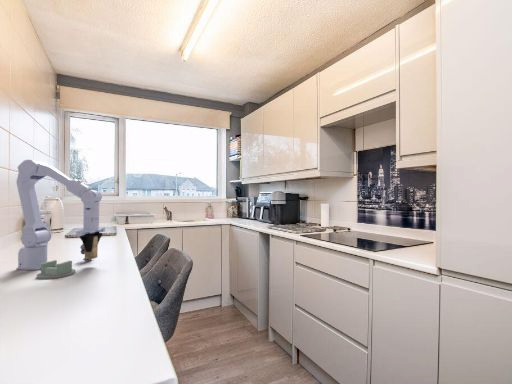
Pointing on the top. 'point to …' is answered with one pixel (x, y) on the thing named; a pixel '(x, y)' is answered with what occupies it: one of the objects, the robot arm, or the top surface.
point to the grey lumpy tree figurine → (84, 252)
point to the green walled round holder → (55, 270)
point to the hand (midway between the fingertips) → (91, 250)
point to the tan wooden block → (93, 249)
